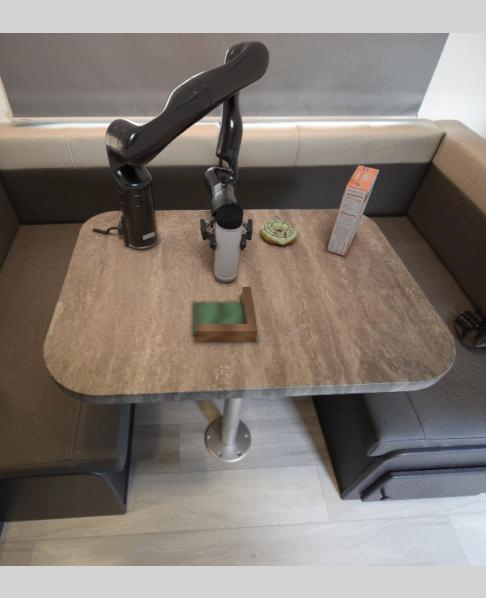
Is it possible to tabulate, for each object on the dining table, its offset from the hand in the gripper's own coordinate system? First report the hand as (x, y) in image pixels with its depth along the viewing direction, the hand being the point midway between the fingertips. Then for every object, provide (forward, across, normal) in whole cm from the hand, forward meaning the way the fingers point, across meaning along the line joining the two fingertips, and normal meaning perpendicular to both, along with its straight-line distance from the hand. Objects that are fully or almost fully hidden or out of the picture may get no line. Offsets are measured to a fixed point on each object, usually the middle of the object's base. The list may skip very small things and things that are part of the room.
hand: (228, 247), depth 85 cm
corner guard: (+13, -1, +11) cm, 17 cm away
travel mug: (-2, 0, +11) cm, 11 cm away
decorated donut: (-20, +17, +12) cm, 29 cm away
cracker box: (-18, +36, +12) cm, 42 cm away
